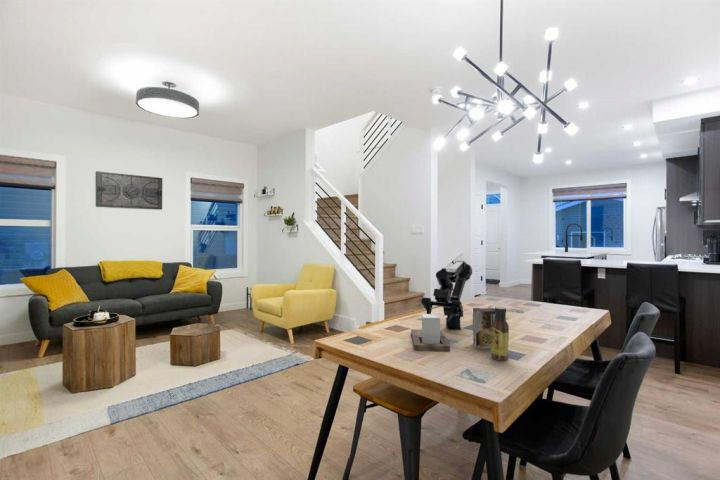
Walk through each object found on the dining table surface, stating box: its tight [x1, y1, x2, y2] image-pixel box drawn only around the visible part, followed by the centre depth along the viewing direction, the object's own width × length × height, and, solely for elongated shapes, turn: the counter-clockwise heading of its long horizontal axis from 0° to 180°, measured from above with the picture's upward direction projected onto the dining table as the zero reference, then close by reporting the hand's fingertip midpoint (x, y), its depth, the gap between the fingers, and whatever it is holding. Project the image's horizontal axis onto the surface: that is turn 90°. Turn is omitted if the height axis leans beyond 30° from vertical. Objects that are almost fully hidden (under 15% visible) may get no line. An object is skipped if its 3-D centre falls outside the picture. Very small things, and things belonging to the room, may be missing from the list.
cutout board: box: [410, 329, 451, 352], centre depth 159 cm, size 14×24×2 cm, turn 175°
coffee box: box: [472, 307, 495, 350], centre depth 152 cm, size 9×6×16 cm
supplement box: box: [421, 313, 441, 344], centre depth 155 cm, size 7×7×13 cm
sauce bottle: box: [490, 306, 510, 361], centre depth 138 cm, size 6×6×20 cm
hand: (437, 320), depth 162 cm, fingers open, 9 cm apart
